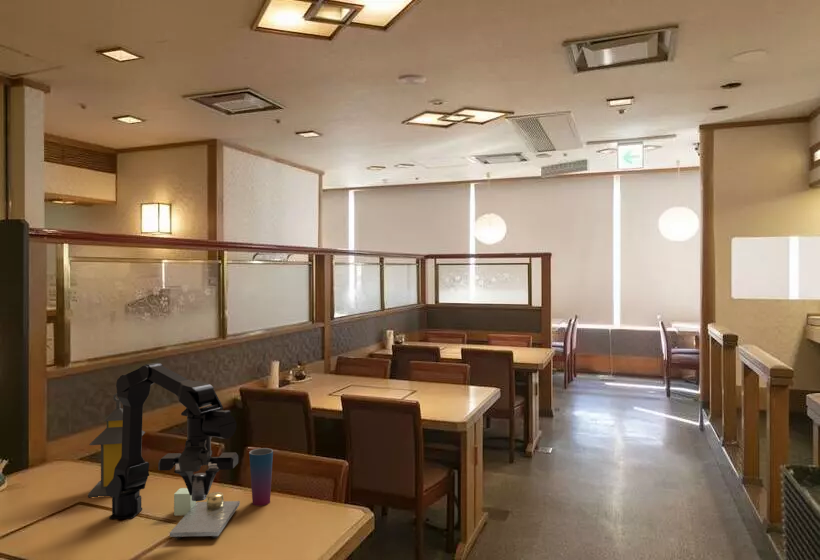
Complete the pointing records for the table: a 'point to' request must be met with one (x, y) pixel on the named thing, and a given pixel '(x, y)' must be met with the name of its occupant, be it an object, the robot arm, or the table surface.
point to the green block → (182, 502)
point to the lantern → (109, 449)
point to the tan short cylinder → (215, 500)
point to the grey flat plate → (205, 520)
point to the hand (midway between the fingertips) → (199, 494)
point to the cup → (261, 475)
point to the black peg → (198, 487)
